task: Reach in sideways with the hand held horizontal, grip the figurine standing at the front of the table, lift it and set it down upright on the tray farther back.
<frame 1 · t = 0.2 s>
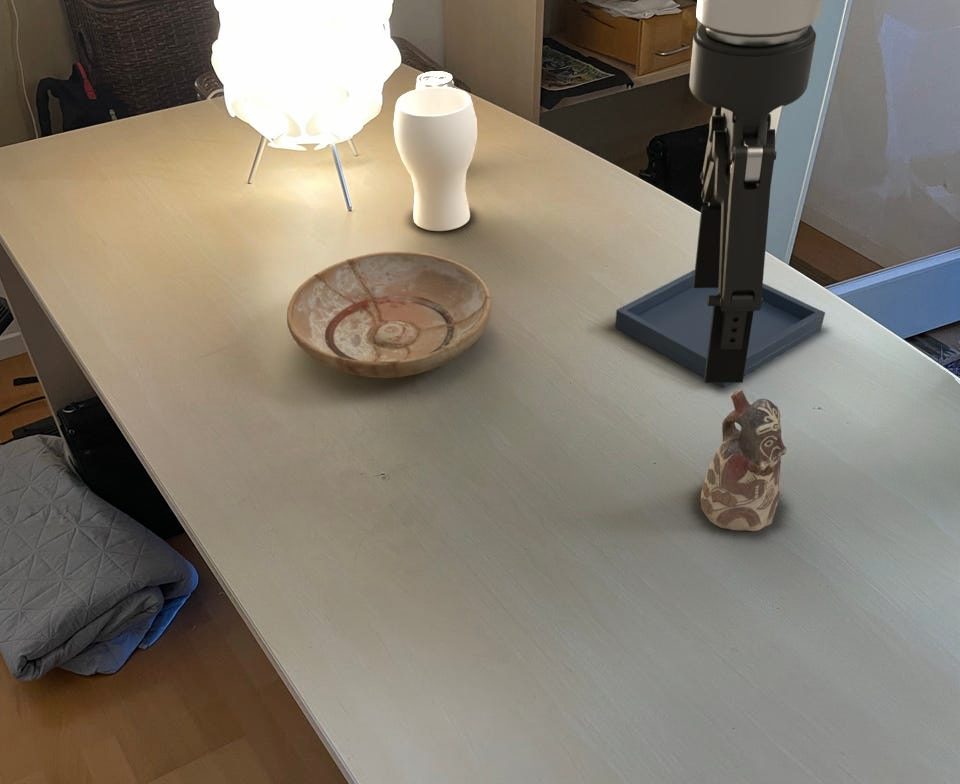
hand: (716, 330, 78), 20 cm above the table, tool pointing down, fingers open, 13 cm apart
figurine: (737, 508, 94), on the table
cup: (442, 219, 136), on the table
ceramic bowl: (393, 342, 116), on the table
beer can: (440, 167, 146), on the table
tray: (717, 328, 115), on the table
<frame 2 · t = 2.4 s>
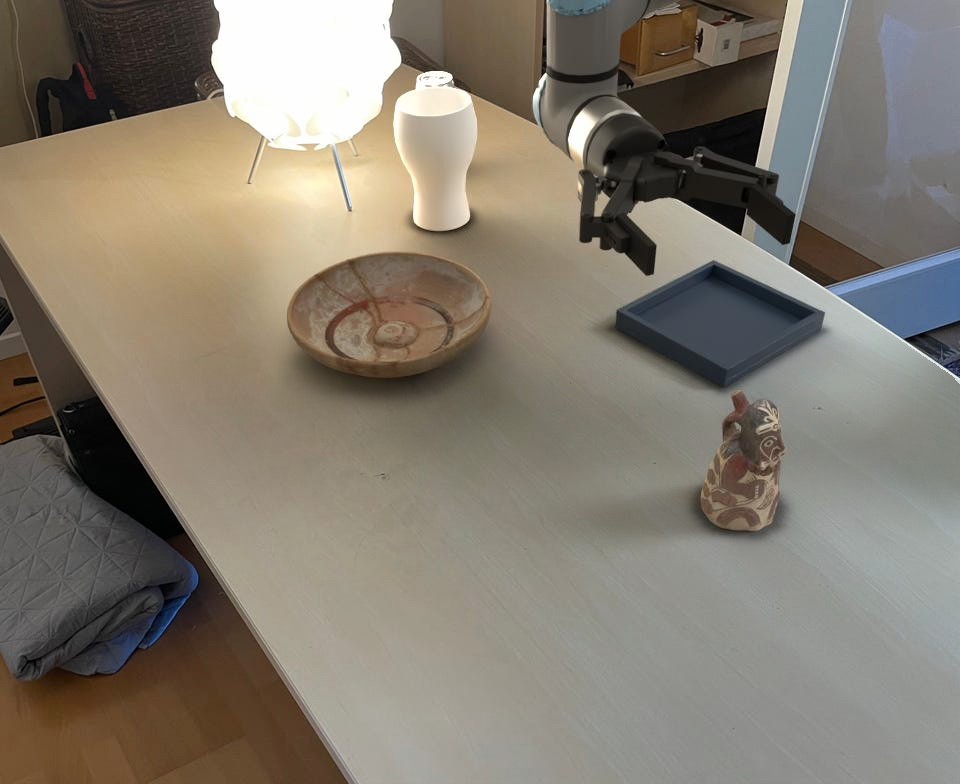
hand: (721, 245, 87), 20 cm above the table, tool horizontal, fingers open, 13 cm apart
nothing on the table moved.
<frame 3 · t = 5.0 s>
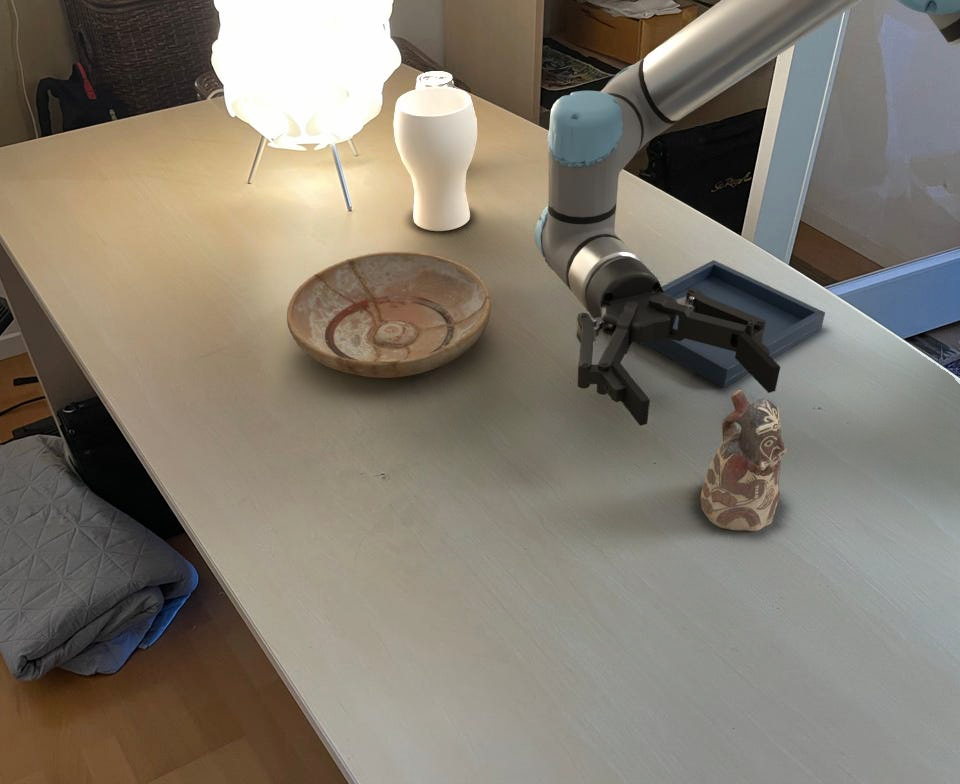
hand: (710, 396, 93), 8 cm above the table, tool horizontal, fingers open, 13 cm apart
nothing on the table moved.
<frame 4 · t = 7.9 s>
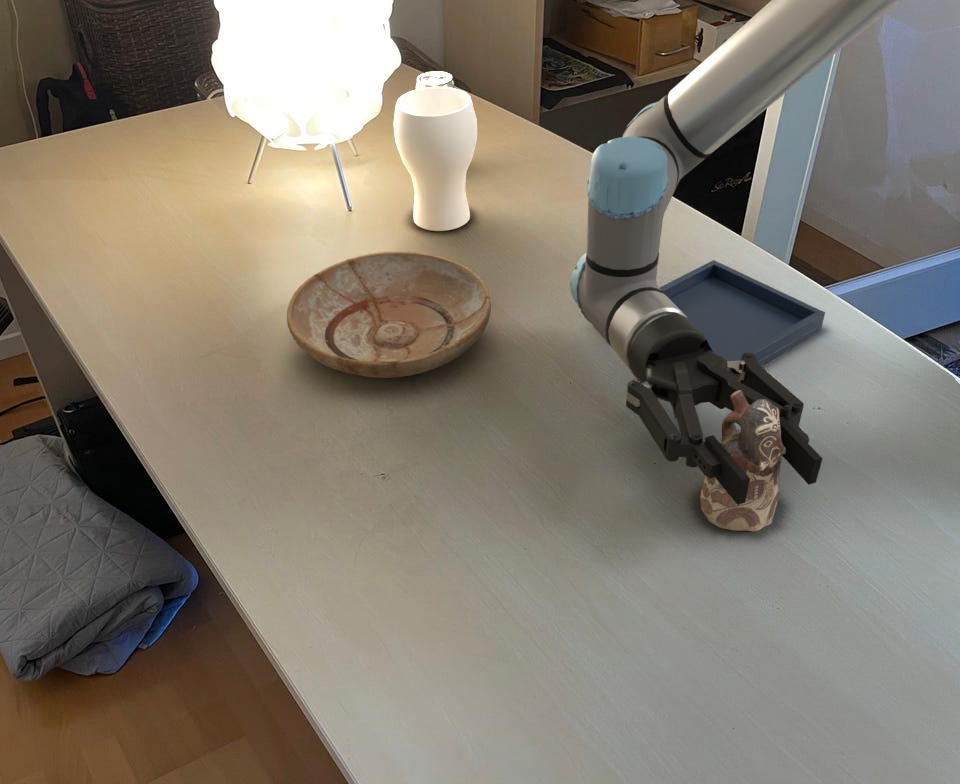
hand: (779, 481, 86), 7 cm above the table, tool horizontal, fingers closed on figurine, 6 cm apart
figurine: (737, 508, 94), on the table, touching gripper
everything else where it was.
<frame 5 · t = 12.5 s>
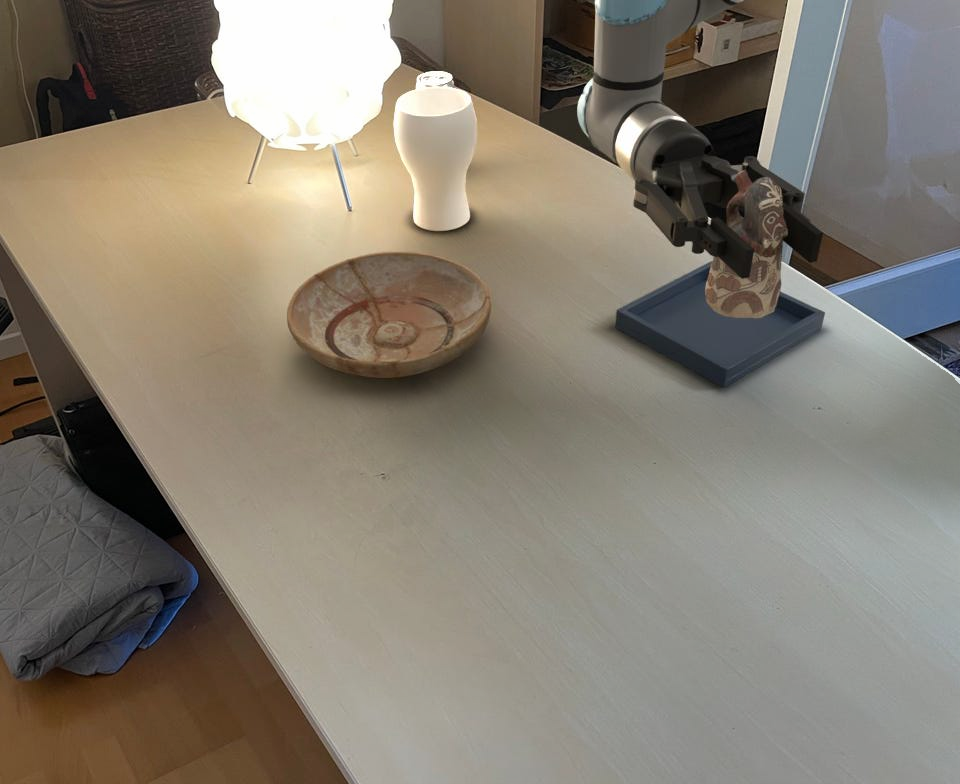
hand: (782, 255, 90), 18 cm above the table, tool horizontal, fingers closed on figurine, 6 cm apart
figurine: (740, 301, 98), point 11 cm above the table, touching gripper
everything else where it was.
when the fingers open (8 cm above the table, at t = 17.3 s): figurine stays where it is, resting on tray.
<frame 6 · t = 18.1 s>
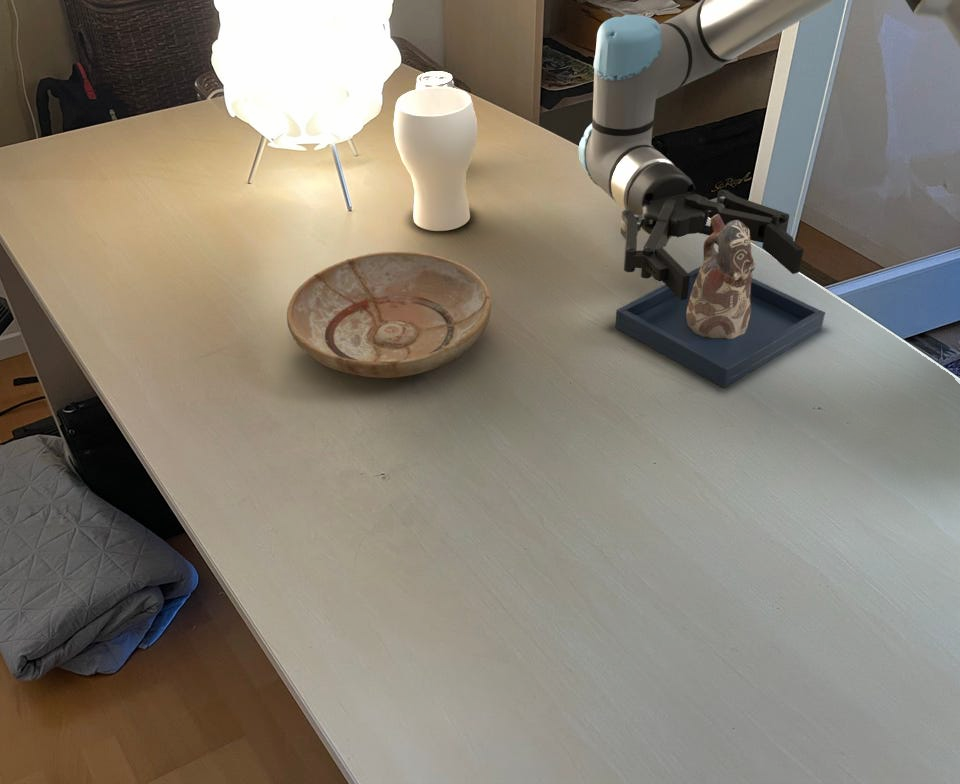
hand: (742, 274, 106), 8 cm above the table, tool horizontal, fingers open, 13 cm apart
figurine: (716, 324, 114), point 1 cm above the table, touching tray
everything else where it was.
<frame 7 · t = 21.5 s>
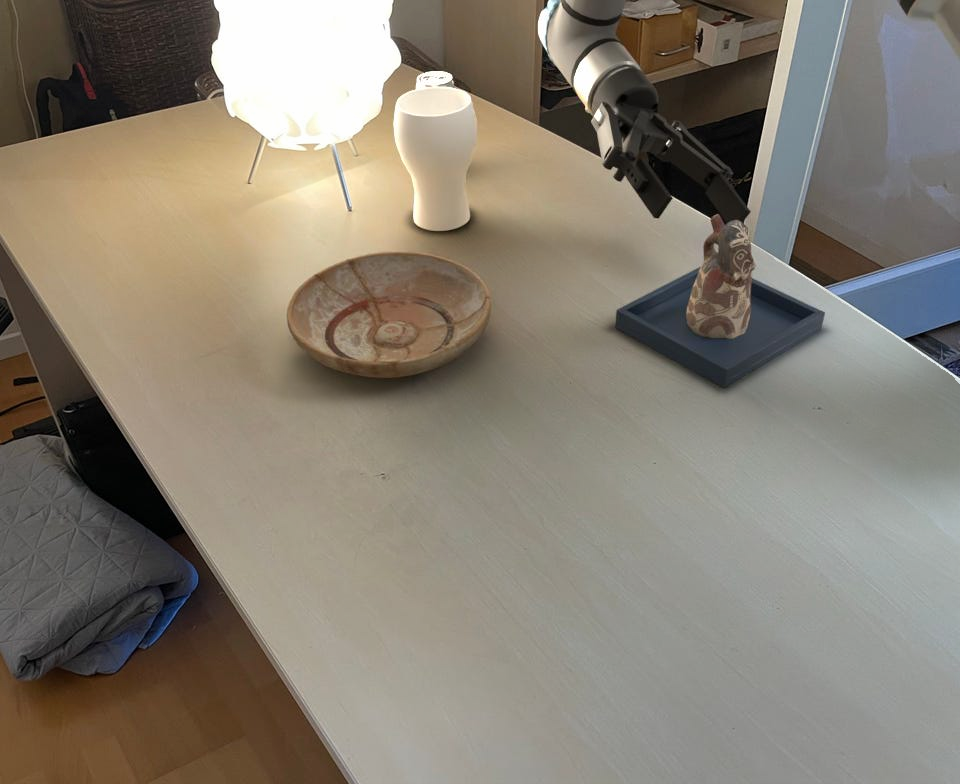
hand: (704, 215, 113), 10 cm above the table, tool tilted 70°, fingers open, 13 cm apart
nothing on the table moved.
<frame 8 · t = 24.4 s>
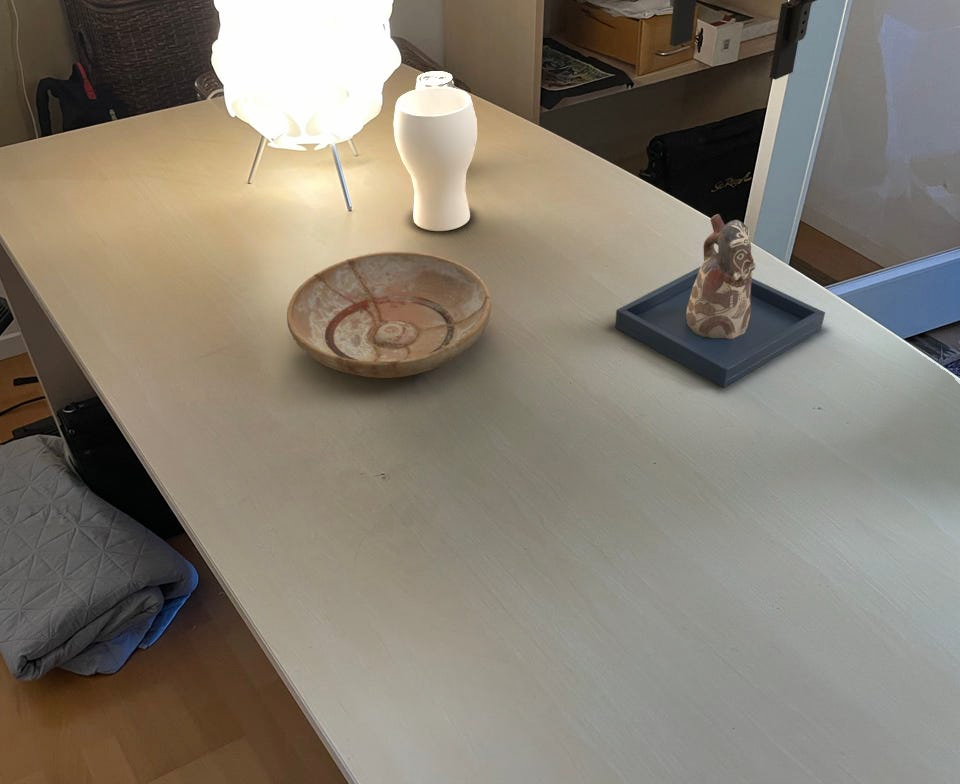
hand: (729, 58, 104), 25 cm above the table, tool pointing down, fingers open, 13 cm apart
nothing on the table moved.
at the end: figurine inside the target area in the tray (0.1 cm from its centre), point 0.6 cm above the tray's base; figurine tilted 0°; the gripper is holding nothing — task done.
